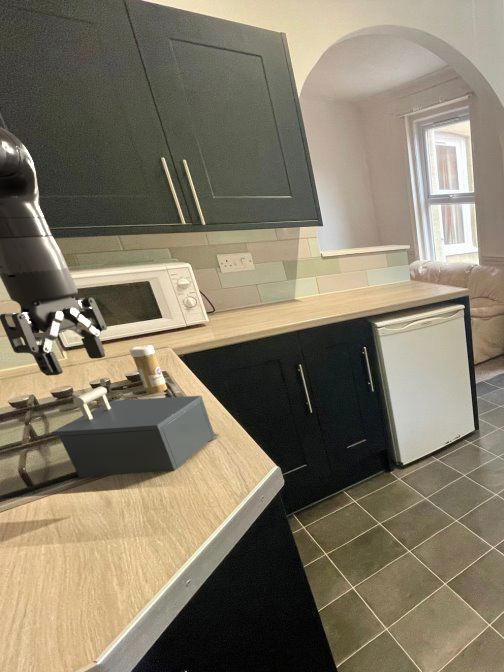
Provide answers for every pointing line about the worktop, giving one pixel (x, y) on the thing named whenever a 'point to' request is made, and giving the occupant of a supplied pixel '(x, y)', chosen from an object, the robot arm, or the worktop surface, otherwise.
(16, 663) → the worktop surface
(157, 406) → the lid
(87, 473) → the storage box
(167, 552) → the worktop surface
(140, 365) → the sprinkles bottle
